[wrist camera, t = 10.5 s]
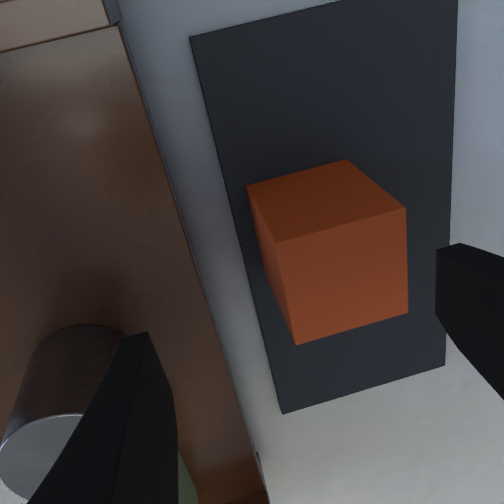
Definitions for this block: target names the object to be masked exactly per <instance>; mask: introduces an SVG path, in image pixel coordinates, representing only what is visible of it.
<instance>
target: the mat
mask: <svg viewBox="0 0 504 504" xmlns="http://www.w3.org/2000/svg"><path fill="white" fill-rule="evenodd" d="M457 14H458V0H341V1H336V2H332V3H328V4H324V5H320V6H316V7H311V8H307V9H303V10H299V11H295V12H291V13H287V14H282V15H278V16H274V17H270V18H266V19H262V20H257V21H253V22H249V23H245V24H241V25H237V26H232V27H228V28H224V29H220V30H216V31H212V32H207V33H203V34H199V35H195V36H191V37H189V40H190V44H191V48H192V52H193V56H194V60H195V65H196V69H197V73H198V77H199V81H200V85H201V89H202V93H203V97H204V101H205V105H206V109H207V113H208V117H209V121H210V125H211V129H212V133H213V137H214V141H215V146H216V150H217V154H218V158H219V162H220V166H221V170H222V174H223V178H224V182H225V186H226V190H227V194H228V198H229V202H230V206H231V210H232V214H233V218H234V222H235V227H236V231H237V235H238V239H239V243H240V247H241V251H242V255H243V259H244V263H245V267H246V271H247V275H248V279H249V283H250V287H251V291H252V295H253V299H254V303H255V308H256V312H257V316H258V320H259V324H260V328H261V332H262V336H263V340H264V344H265V348H266V352H267V356H268V360H269V364H270V368H271V372H272V376H273V380H274V384H275V389H276V393H277V397H278V401H279V405H280V409H281V412H282V414H287V413H290V412H293V411H296V410H300V409H303V408H306V407H310V406H313V405H316V404H320V403H323V402H326V401H329V400H333V399H336V398H339V397H343V396H346V395H349V394H353V393H356V392H359V391H362V390H366V389H369V388H372V387H376V386H379V385H382V384H386V383H389V382H392V381H395V380H399V379H402V378H405V377H409V376H412V375H415V374H419V373H422V372H425V371H429V370H432V369H435V368H438V367H442V366H445V353H446V331H445V329H444V327H443V326H442V324H441V323H440V321H439V320H438V318H437V317H436V315H435V287H436V249H440V248H443V247H447V246H449V240H450V212H451V183H452V155H453V127H454V98H455V70H456V42H457ZM344 159H347V160H348V161H349V162H350V163H352V164H353V165H354V166H355V167H357V168H358V169H359V170H360V171H361V172H363V173H364V174H365V175H366V176H368V177H369V178H370V179H371V180H372V181H374V182H375V183H376V184H377V185H379V186H380V187H381V188H382V189H383V190H385V191H386V192H387V193H388V194H390V195H391V196H392V197H393V198H394V199H396V200H397V201H398V202H399V203H401V204H402V205H403V206H404V207H405V208H406V228H407V273H408V313H405V314H402V315H398V316H395V317H391V318H388V319H384V320H381V321H378V322H374V323H371V324H367V325H364V326H361V327H357V328H354V329H350V330H347V331H343V332H340V333H337V334H333V335H330V336H326V337H323V338H320V339H316V340H313V341H309V342H306V343H302V344H299V345H295V344H294V341H293V339H292V336H291V334H290V332H289V329H288V327H287V324H286V322H285V320H284V317H283V315H282V313H281V310H280V308H279V305H278V303H277V301H276V298H275V296H274V293H273V291H272V289H271V286H270V284H269V281H268V279H267V277H266V274H265V272H264V267H263V263H262V258H261V254H260V249H259V245H258V240H257V236H256V231H255V227H254V222H253V218H252V213H251V209H250V204H249V200H248V195H247V191H246V186H247V185H250V184H254V183H257V182H261V181H265V180H269V179H273V178H276V177H280V176H284V175H288V174H291V173H295V172H299V171H303V170H306V169H310V168H314V167H318V166H322V165H325V164H329V163H333V162H337V161H340V160H344Z"/></svg>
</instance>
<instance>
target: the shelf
mask: <svg viewBox="0 0 504 504" xmlns="http://www.w3.org/2000/svg"><path fill="white" fill-rule="evenodd" d="M121 19H122V14H121V10H120V7H119V4H118V1H117V0H3V1H0V445H1V442H2V439H3V436H4V433H5V430H6V427H7V425H8V422H9V419H10V416H11V413H12V410H13V407H14V404H15V401H16V398H17V395H18V392H19V389H20V386H21V383H22V380H23V377H24V374H25V371H26V368H27V365H28V362H29V359H30V357H31V354H32V352H33V351H34V349H35V348H36V346H37V345H38V344H39V343H40V342H41V341H43V340H44V339H45V338H46V337H48V336H49V335H51V334H53V333H55V332H57V331H59V330H62V329H65V328H69V327H73V326H81V325H95V326H102V327H107V328H110V329H114V330H116V331H118V332H121V333H122V334H124V335H126V336H127V337H128V336H131V335H135V334H139V333H142V332H146V331H148V333H149V335H150V338H151V340H152V343H153V345H154V348H155V350H156V352H157V355H158V357H159V360H160V362H161V364H162V367H163V369H164V372H165V374H166V377H167V379H168V381H169V384H170V386H171V389H172V391H173V398H174V406H175V413H176V421H177V429H178V450H179V452H180V455H181V457H182V459H183V461H184V463H185V465H186V468H187V470H188V472H189V474H190V476H191V479H192V481H193V483H194V485H195V487H196V490H197V497H198V504H270V500H269V496H268V492H267V487H266V483H265V479H264V475H263V471H262V466H261V462H260V459H259V456H258V453H257V452H256V451H255V448H254V445H253V442H252V438H251V435H250V432H249V429H248V426H247V422H246V419H245V416H244V413H243V410H242V406H241V403H240V400H239V397H238V394H237V390H236V387H235V384H234V381H233V378H232V374H231V371H230V368H229V365H228V362H227V358H226V355H225V352H224V349H223V346H222V343H221V339H220V336H219V333H218V330H217V327H216V323H215V320H214V317H213V314H212V311H211V307H210V304H209V301H208V298H207V295H206V291H205V288H204V285H203V282H202V279H201V275H200V272H199V269H198V266H197V263H196V259H195V256H194V253H193V250H192V247H191V244H190V240H189V237H188V234H187V231H186V228H185V224H184V221H183V218H182V215H181V212H180V208H179V205H178V202H177V199H176V196H175V192H174V189H173V186H172V183H171V180H170V176H169V173H168V170H167V167H166V164H165V160H164V157H163V154H162V151H161V148H160V144H159V141H158V138H157V135H156V132H155V129H154V125H153V122H152V119H151V116H150V113H149V109H148V106H147V103H146V100H145V97H144V93H143V90H142V87H141V84H140V81H139V77H138V74H137V71H136V68H135V65H134V61H133V58H132V55H131V52H130V49H129V45H128V42H127V39H126V36H125V33H124V30H123V26H122V24H121V22H119V20H121Z"/></svg>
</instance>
